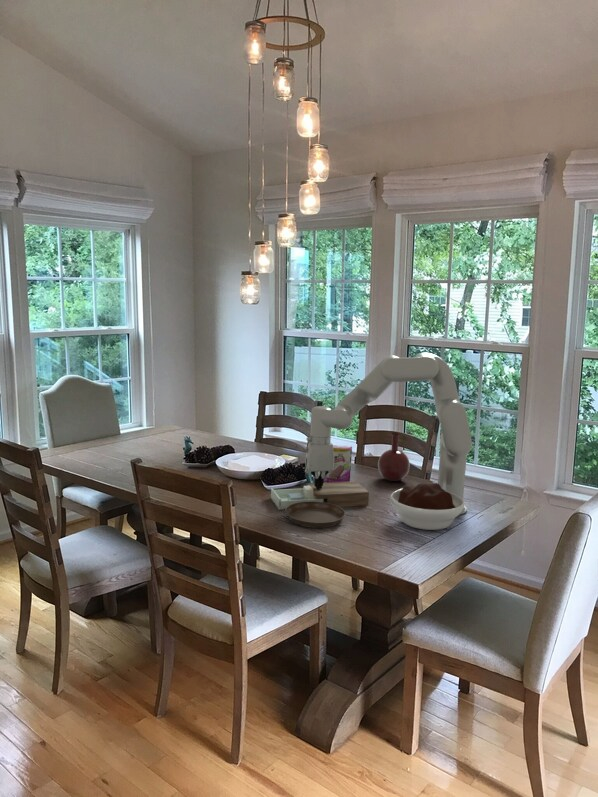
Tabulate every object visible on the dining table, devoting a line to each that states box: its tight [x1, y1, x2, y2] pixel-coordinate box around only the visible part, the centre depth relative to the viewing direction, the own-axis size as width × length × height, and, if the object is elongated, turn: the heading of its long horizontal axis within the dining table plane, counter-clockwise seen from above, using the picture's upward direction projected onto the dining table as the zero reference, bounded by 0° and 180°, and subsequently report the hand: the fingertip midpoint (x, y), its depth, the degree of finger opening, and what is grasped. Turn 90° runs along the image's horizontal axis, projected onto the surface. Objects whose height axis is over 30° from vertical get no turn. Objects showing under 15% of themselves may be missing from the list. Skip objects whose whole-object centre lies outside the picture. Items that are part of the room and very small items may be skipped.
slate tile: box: [288, 493, 304, 500], centre depth 252 cm, size 5×5×2 cm
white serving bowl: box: [389, 482, 465, 531], centre depth 233 cm, size 25×25×15 cm
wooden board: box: [306, 480, 370, 508], centre depth 256 cm, size 14×20×5 cm
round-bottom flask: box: [377, 432, 411, 482], centre depth 284 cm, size 13×13×20 cm
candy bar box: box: [323, 444, 353, 483], centre depth 274 cm, size 11×5×16 cm, turn 84°
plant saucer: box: [285, 502, 346, 529], centre depth 236 cm, size 21×21×3 cm
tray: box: [270, 487, 324, 511], centre depth 253 cm, size 13×17×4 cm
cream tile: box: [302, 485, 314, 499], centre depth 253 cm, size 5×5×2 cm
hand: (318, 487), depth 254 cm, fingers closed
